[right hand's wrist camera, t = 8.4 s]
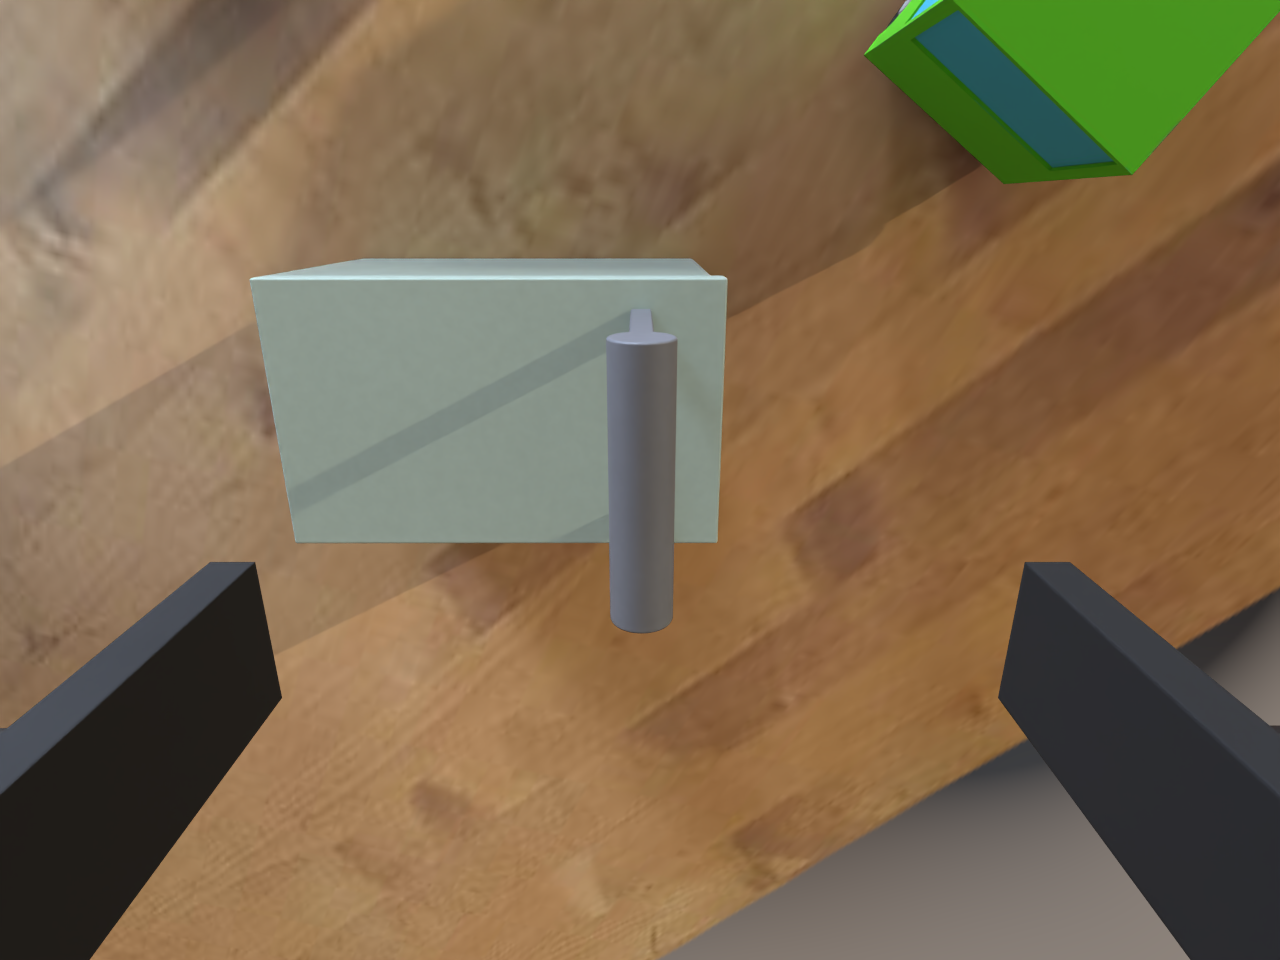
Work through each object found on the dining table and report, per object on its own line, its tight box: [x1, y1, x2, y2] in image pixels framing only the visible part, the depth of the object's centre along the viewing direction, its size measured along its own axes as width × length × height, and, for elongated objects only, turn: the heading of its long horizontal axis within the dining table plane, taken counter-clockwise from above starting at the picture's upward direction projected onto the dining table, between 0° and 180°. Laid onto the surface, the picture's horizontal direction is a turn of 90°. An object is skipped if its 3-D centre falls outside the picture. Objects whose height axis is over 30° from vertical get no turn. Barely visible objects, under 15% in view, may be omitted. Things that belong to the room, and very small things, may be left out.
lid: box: [250, 276, 728, 633], centre depth 23 cm, size 16×10×9 cm, turn 90°
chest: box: [267, 259, 710, 276], centre depth 31 cm, size 15×10×9 cm, turn 90°
